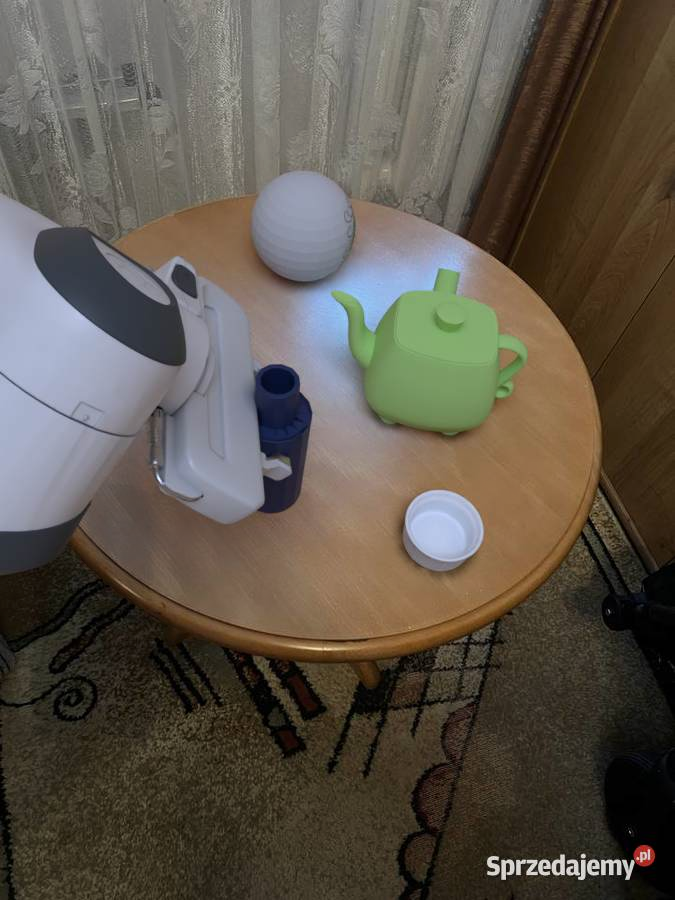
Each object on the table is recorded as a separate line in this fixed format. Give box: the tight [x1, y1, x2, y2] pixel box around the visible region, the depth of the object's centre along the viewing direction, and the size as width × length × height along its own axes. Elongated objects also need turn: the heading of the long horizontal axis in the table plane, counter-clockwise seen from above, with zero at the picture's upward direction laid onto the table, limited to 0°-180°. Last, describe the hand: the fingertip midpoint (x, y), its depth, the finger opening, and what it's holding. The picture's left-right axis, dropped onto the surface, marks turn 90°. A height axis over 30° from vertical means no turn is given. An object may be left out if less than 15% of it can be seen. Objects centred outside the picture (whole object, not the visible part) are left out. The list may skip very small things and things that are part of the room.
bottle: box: [255, 363, 313, 515], centre depth 57 cm, size 6×6×16 cm
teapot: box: [330, 267, 529, 436], centre depth 83 cm, size 25×22×16 cm
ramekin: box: [402, 489, 485, 572], centre depth 74 cm, size 9×9×4 cm
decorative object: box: [250, 169, 356, 282], centre depth 93 cm, size 15×15×15 cm
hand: (281, 432), depth 56 cm, fingers closed on bottle, 6 cm apart
